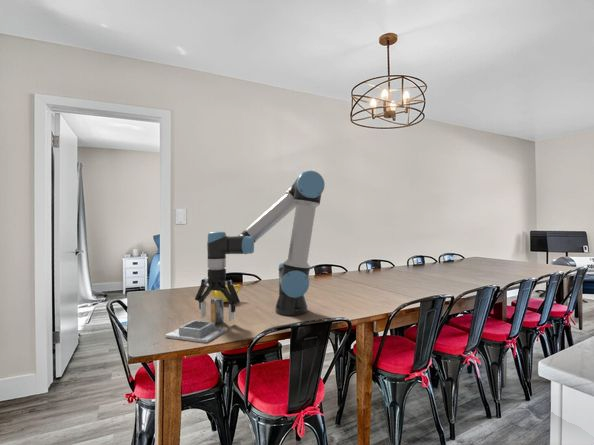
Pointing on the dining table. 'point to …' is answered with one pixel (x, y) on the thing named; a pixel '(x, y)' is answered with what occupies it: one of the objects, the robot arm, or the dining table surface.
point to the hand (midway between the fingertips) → (217, 318)
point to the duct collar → (197, 331)
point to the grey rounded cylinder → (217, 311)
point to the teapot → (220, 295)
